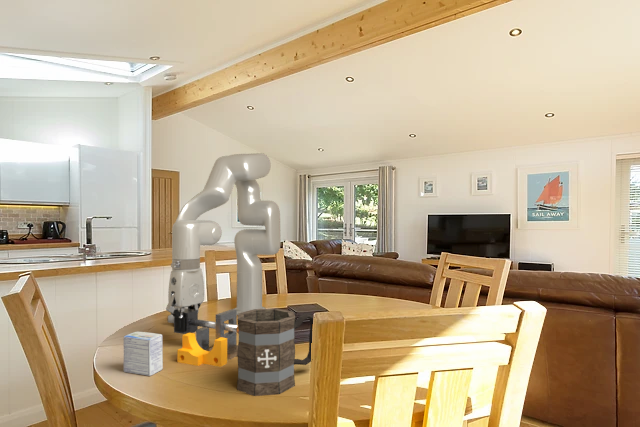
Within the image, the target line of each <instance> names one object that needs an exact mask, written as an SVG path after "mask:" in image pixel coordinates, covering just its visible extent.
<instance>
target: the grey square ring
mask: <svg viewBox="0 0 640 427" xmlns="http://www.w3.org/2000/svg"><path fill="white" fill-rule="evenodd" d="M237 319H238V315H237V310H236V309H234V308H231V309H228V310H225V311H222V312H219V313H216V314H215V322H216V329H215V340H216V339H218V338H220V337H222V338H227V360H232V359H234V358H236V357H238V356H237V353H238V344H237V334H238V333H237V332H233V331H227V332H225V330H224V323H225V322H226V321H227V322H228V323H227V324H234V325H238V320H237ZM195 337H196V341H197V343H198V345H199V346H200V347H201V348H202V349H203V350H205V351H211V350H212V348H213V346H212V347H210V328H206V327H200V328H198V329H197V330H196V332H195Z"/></svg>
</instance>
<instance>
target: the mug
mask: <svg viewBox="0 0 640 427" xmlns="http://www.w3.org/2000/svg"><path fill="white" fill-rule="evenodd" d="M307 319H309V323H310V324H309V325H310V329H309V334H308V337H309V339H308V340H309V341H308V353H307V355H306V357H305V358H303V359H299V358H296V344H295V330H296V329H299V327H300V326H302V324H303V322H304V321H306V320H307ZM312 324H313V315H311V314H310V313H303V314H301V315H300V316H298V317H297V318H296V315H295V312H294V311H293V310H287V309H283V308H282V309H281V308H266V309H253V310H250V311H246V312H242V313H238V315H237V325H238V329H239V334H238V342H237V343H238V344H237V345H238V353H237V356H236V357H237V366H238V370H237V371H238V372H237V373H238V376H237V382H236V390H237V391H239V392H242V393H245V394H247V395H251V396H253V397H260V396H261V397H262V396H273V395H274V396H275V395H276V396H277V395H281V394H283V393H285V392H287V391H288V390H290V389H293V387H295V386H296V382H295V381H296V380H295V366H298V365H303V366H306V365H308V364H310V363H311V362H312V361H311V343H312Z"/></svg>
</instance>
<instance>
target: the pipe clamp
mask: <svg viewBox="0 0 640 427" xmlns="http://www.w3.org/2000/svg"><path fill="white" fill-rule="evenodd" d="M181 335H182V342H181V343H182V344H181V346H182V347H181V348H178V349H177V352H176V353H177V356H176V357H177V361H176V362H177V363H179V364H184V365H189V366H196V367H199V366H201V365H207V366H208V365H209V366H213V367H219V368H222V367H224V366H225V365H227V364H228V359H227V338H222V337H220V338H218V339H216V338H215V339H214V343H213V346H212V347H213V348H212V347H211V348H212V350H211V351H206V349H205V350H203V349H202V348H201V347H200V346H199V345H198V343H197V341H196V332H194V333H187V334H181Z"/></svg>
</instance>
